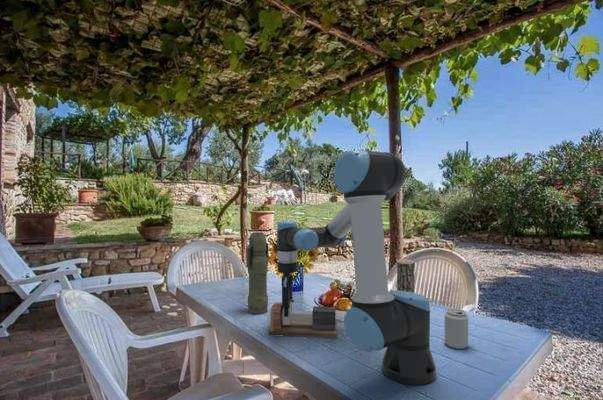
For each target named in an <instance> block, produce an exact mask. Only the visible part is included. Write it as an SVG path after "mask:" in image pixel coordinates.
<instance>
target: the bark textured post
mask: <svg viewBox="0 0 603 400" xmlns="http://www.w3.org/2000/svg"><path fill="white" fill-rule="evenodd" d="M396 263H397V264H396V291H407V292H412V293H415V271H416V269H415V267H416V266H415V263H416V261H415V260H412V259H405V258H403V259H397V262H396Z"/></svg>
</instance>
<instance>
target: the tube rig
mask: <svg viewBox="0 0 603 400" xmlns="http://www.w3.org/2000/svg"><path fill="white" fill-rule="evenodd" d="M281 306H282V301H281V302H278V301H277V302H276V301H275V302H273V305H272V306H271V307H270V328H269V330H268V336H269V335H283V336H282V337H290V336H293V337H295V338H316V337H320V339H321V338H322V339H337V338H338V335H337V333H338V332H337V331H338V330H337V329H338V326H337V325H338V323H337V321H336V306H317V305H315V306H313V307H312V310H311V311H312V322H299V321H291V323H290V325H283V321H281V311H282V310H283V308H281ZM293 337H292V338H293Z"/></svg>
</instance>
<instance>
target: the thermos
mask: <svg viewBox="0 0 603 400" xmlns="http://www.w3.org/2000/svg"><path fill="white" fill-rule="evenodd" d="M249 235H250V236H249V240H248V244H247V246H246V248H245V256H246V257H245V258H246V259H245V262H246V263H245V266H246V268H247V274H248V295H247V309H248V310H247V312H248V314H251V315H255V316H256V315H259V316H260V315H264V314H267V313H268V311H269V310H268V309H269V308H268V307H269V294H268V291H267V290H268V285H267V283H268V282H267V280H268V279H267V278H268V276H267V275H268V272H269V266H268V265H269V263H270V262H269V258H270V257H269V255H270V254H269V253H270V252H269V250H270V247H269V244H268V242H267V238H266V234H265V233H263V232H252V233H250V234H249Z"/></svg>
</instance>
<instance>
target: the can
mask: <svg viewBox="0 0 603 400" xmlns="http://www.w3.org/2000/svg"><path fill="white" fill-rule="evenodd" d="M444 343H445V344H446V345H447V346H448V347H449V348H451V349H454V350H455V349H456V350H464V349H465V348H467V347H468V346H469V316H468V315H467V312H466V311H465V310H464V309H459V308H448V309H446V312H445V313H444Z"/></svg>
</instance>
